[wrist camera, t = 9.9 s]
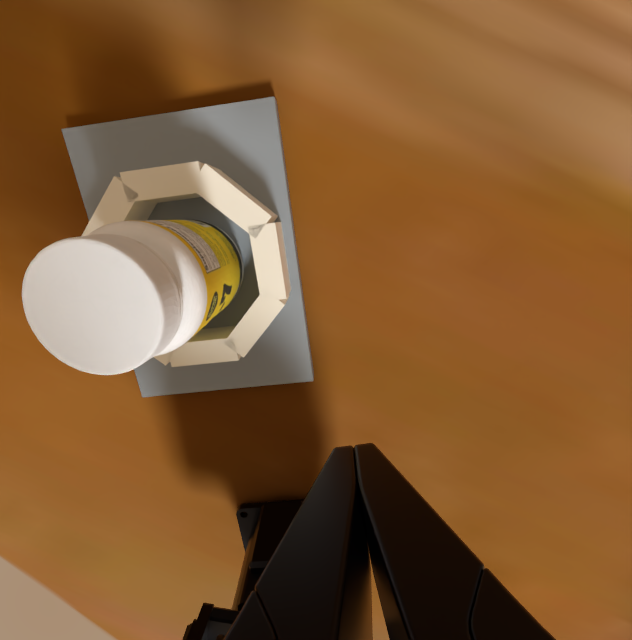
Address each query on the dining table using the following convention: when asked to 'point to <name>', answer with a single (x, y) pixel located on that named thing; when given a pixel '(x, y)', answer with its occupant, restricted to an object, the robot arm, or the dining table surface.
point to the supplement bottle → (129, 291)
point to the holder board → (220, 210)
